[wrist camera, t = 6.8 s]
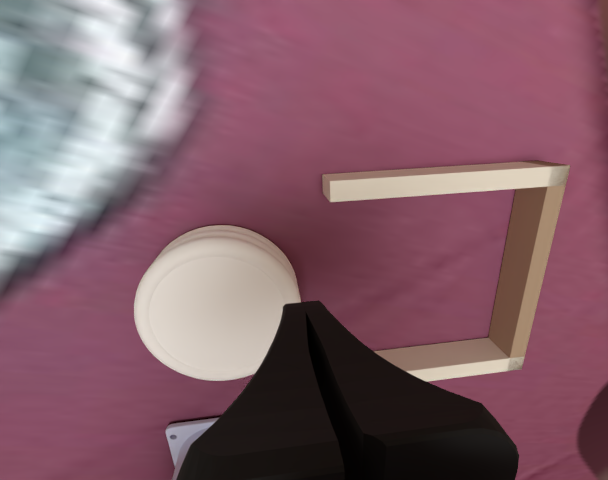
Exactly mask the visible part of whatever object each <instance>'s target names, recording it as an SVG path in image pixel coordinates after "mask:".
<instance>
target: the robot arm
mask: <svg viewBox="0 0 608 480" xmlns="http://www.w3.org/2000/svg"><path fill="white" fill-rule="evenodd" d="M166 436H167V440H168V443H169V447H170V451H171V455H172V459H173V462H174V466H175V470H174V474H173V478H172V480H515V477H516V473H517V469H518V460H519V454H518V451H517V448H516V445H515V444H514V443H513V441H512V440H511V439H510V437H509V436H508V435H507V434H506V432H505V431H504V429H503V428H502V427H501V426H500V424H499V423H498V422H497V420H496V419H495V418H494V417H493V416H492V415H491V414H490V412H489V411H488V410H487V409H486V408H485V407H484V406H483V405H482V403H479V402H476V401H473V400H471V399H468V398H465V397H463V396H460V395H457V394H454V393H452V392H449V391H446V390H444V389H441V388H439V387H437V386H435V385H432V384H430V383H428V382H426V381H424V380H422V379H420V378H417V377H415V376H413V375H411V374H410V373H408V372H406V371H404V370H402V369H401V368H399V367H397V366H395V365H393V364H392V363H390V362H389V361H387V360H385V359H384V358H382V357H381V356H379V355H378V354H376V353H375V352H374V351H372V350H371V349H369V348H368V347H367V346H365V345H364V344H363V343H362V342H360V341H359V340H358V339H357V338H356V337H355V336H353V335H352V334H351V333H350V332H349V331H348V330H347V329H346V328H345V327H344V326H343V325H342V324H341V323H340V322H339V321H338V320H337V319H336V318H335V317H334V316H333V315H332V314H331V313H330V312H329V311H328V310H327V309H326V307H325V306H324V305H323V304H322V303H321V302H320V301H310V302H299V303H289V304H285V305H284V306H283V312H282V317H281V321H280V324H279V327H278V330H277V332H276V335H275V337H274V340H273V342H272V344H271V346H270V348H269V350H268V352H267V354H266V356H265V358H264V360H263V362H262V363H261V365H260V367H259V368H258V370H257V371H256V373H255V375H254V376H253V377H252V379H251V380H250V382H249V383H248V384H247V386H246V387H245V389H244V390H243V391H242V392H241V394H240V395H239V396H238V397H237V399H236V400H235V401H234V402H233V403H232V404H231V405H230V407H229V408H228V409H227V410H226V411H225V412H224V413H223V414H222V416H221V417H220V418H212V419H205V420H197V421H190V422H182V423H175V424H170V425H168V426H167V428H166Z"/></svg>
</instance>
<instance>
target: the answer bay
mask: <svg viewBox="0 0 608 480" xmlns="http://www.w3.org/2000/svg"><path fill="white" fill-rule="evenodd" d="M569 169H570V165H565V164H558V163H551V162H544V161H523V162H508V163H492V164H477V165H461V166H445V167H430V168H414V169H398V170H383V171H367V172H351V173H336V174H322V182H323V194H324V195H325V196H326V198H327V199H328V200H329V201H330V202H341V201H354V200H368V199H382V198H396V197H409V196H423V195H437V194H451V193H465V192H478V191H492V190H506V189H516V191H515V196H514V202H513V207H512V212H511V218H510V223H509V229H508V234H507V239H506V245H505V250H504V255H503V261H502V266H501V271H500V277H499V282H498V288H497V293H496V298H495V304H494V309H493V314H492V320H491V325H490V330H489V336H488V338H481V339H472V340H464V341H455V342H447V343H439V344H430V345H422V346H413V347H405V348H397V349H388V350H380V351H374V352H375V353H376V354H378V355H379V356H381V357H382V358H384V359H385V360H387V361H389V362H390V363H392V364H393V365H395V366H397V367H399V368H401V369H402V370H404V371H406V372H408V373H410V374H411V375H413V376H415V377H417V378H420V379H422V380H424V381H426V382H427V381H434V380H442V379H450V378H457V377H465V376H472V375H480V374H488V373H495V372H503V371H511V370H518V369H522V365H523V361H524V357H525V352H526V348H527V344H528V340H529V336H530V332H531V327H532V323H533V319H534V315H535V311H536V307H537V302H538V298H539V294H540V290H541V286H542V281H543V277H544V273H545V269H546V265H547V261H548V256H549V252H550V248H551V244H552V240H553V236H554V231H555V227H556V223H557V219H558V215H559V211H560V206H561V202H562V198H563V194H564V190H565V185H566V181H567V177H568V173H569Z"/></svg>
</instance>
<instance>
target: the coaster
mask: <svg viewBox="0 0 608 480" xmlns="http://www.w3.org/2000/svg"><path fill="white" fill-rule="evenodd" d="M299 302H301V298H300V294H299V288H298V285H297V279H296V276H295V272H294V270H293V268H292V265H291V263H290V262H289V260H288V259H287V257H286V256H285V255H284V253H283V252H282V251H281V250H280V249H279V248H278V247H277V246H276V245H275V244H274V243H272V242H271V241H269V240H268V239H267V238H265V237H263V236H262V235H260V234H258V233H256V232H253V231H251V230H248V229H245V228H242V227H237V226H230V225H214V226H206V227H202V228H198V229H195V230H192V231H189V232H187V233H185V234H183V235H181V236H179V237H178V238H176V239H175V240H173V241H172V242H171V243H169V244H168V245H167V246H166V247H165V248H164V249H163V250H162V252H161V253H160V254H159V256H158V257H157V258H156V259H155V261H154V262H153V263H152V264H151V266H150V267H149V268H148V270H147V271H146V272H145V274H144V276H143V277H142V279H141V281H140V283H139V286H138V289H137V291H136V296H135V302H134V317H135V324H136V327H137V330H138V333H139V335H140V337H141V339H142V341H143V343H144V344H145V346H146V347H147V348H148V350H149V351H150V352H151V353H152V354H153V355H154V356H155V357H156V358H157V359H158V360H159V361H161V362H162V363H163V364H165V365H166V366H168V367H169V368H171V369H173V370H175V371H177V372H179V373H181V374H184V375H187V376H190V377H193V378H197V379H203V380H211V381H226V380H234V379H239V378H243V377H246V376H249V375H252V374H255V373H256V371H257V370H258V368H259V367H260V365H261V363H262V362H263V360H264V358H265V356H266V354H267V352H268V350H269V348H270V346H271V344H272V342H273V340H274V337H275V335H276V332H277V330H278V327H279V324H280V321H281V317H282V312H283V306H284V305H285V304H289V303H299Z"/></svg>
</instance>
